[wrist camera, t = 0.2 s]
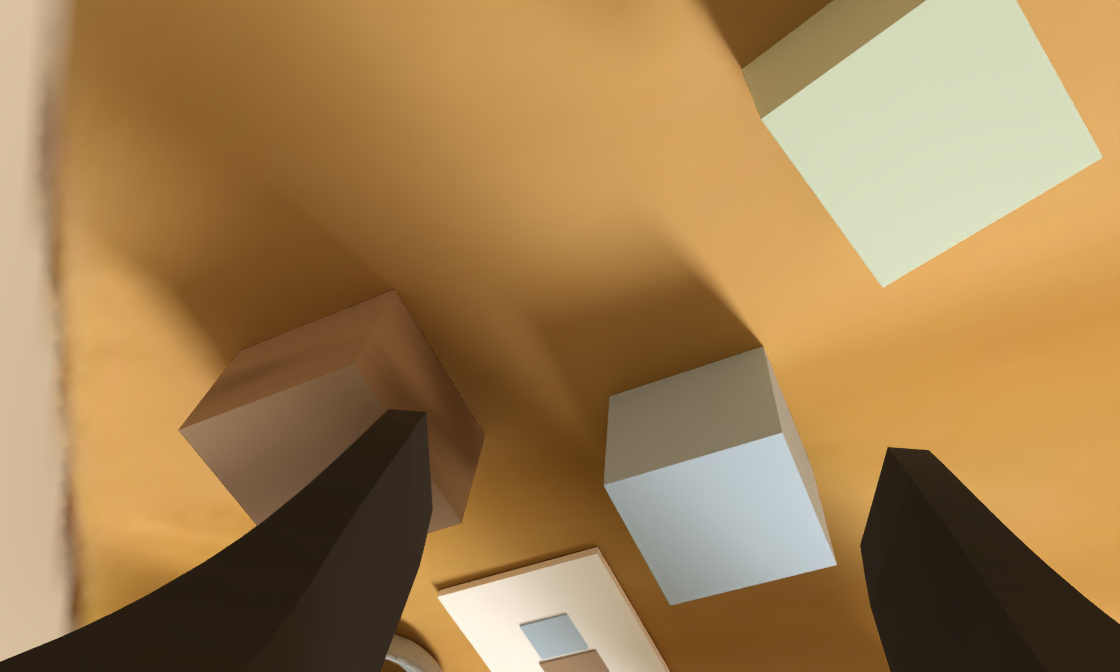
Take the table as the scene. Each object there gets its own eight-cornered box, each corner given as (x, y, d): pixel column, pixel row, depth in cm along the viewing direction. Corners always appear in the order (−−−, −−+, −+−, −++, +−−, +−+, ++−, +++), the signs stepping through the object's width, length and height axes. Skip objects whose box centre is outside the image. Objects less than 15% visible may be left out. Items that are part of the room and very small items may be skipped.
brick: (1023, 99, 20) (1103, 157, 16) (845, 213, 21) (882, 287, 18) (925, -72, 18) (990, -47, 15) (741, 68, 20) (761, 119, 16)
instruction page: (685, 697, 31) (685, 706, 31) (538, 728, 33) (537, 737, 33) (597, 547, 28) (597, 555, 27) (439, 590, 29) (436, 598, 29)
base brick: (485, 431, 26) (461, 522, 23) (339, 479, 28) (295, 572, 24) (396, 285, 24) (354, 363, 20) (241, 348, 25) (178, 429, 22)
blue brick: (811, 465, 25) (836, 564, 22) (667, 506, 27) (670, 605, 23) (762, 343, 23) (782, 432, 20) (609, 394, 25) (603, 485, 21)
